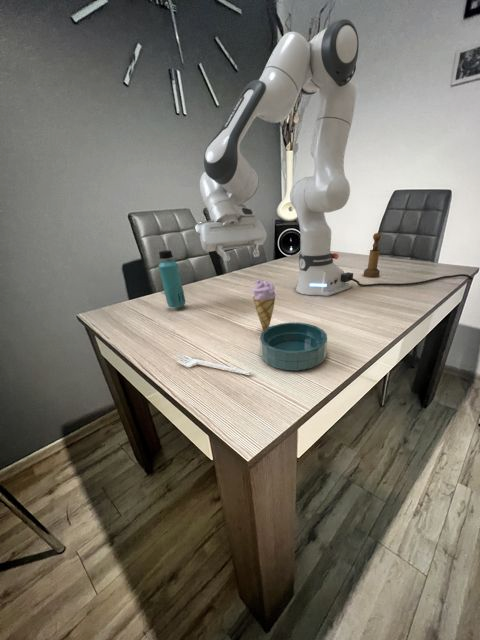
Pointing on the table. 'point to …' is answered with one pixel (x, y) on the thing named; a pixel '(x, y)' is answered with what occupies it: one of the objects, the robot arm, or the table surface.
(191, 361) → the fork
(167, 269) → the beverage bottle
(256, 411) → the table surface
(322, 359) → the bowl
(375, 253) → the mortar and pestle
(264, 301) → the ice cream cone
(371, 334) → the table surface
